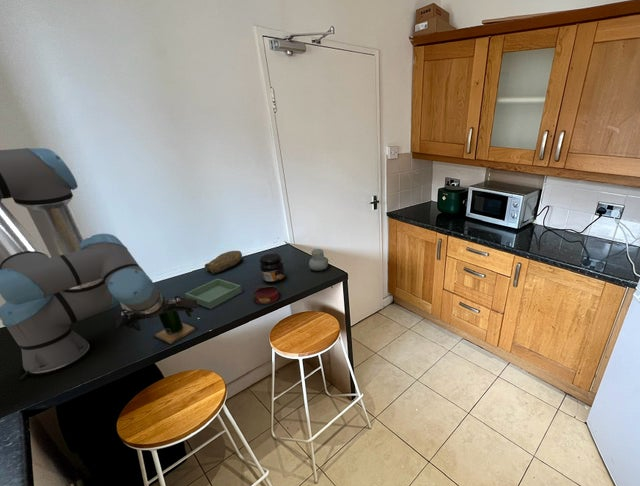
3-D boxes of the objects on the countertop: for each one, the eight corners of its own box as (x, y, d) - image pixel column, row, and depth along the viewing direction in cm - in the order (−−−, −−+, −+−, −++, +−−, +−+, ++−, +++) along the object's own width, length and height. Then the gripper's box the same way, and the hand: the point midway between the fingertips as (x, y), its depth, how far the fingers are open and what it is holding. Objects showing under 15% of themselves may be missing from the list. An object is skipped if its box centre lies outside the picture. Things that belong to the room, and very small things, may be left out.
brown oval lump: (217, 278, 156) (251, 257, 169) (208, 265, 152) (244, 245, 165) (206, 275, 164) (239, 255, 177) (198, 263, 160) (232, 243, 173)
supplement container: (267, 286, 146) (262, 263, 141) (260, 278, 153) (255, 256, 148) (289, 280, 152) (285, 257, 147) (281, 272, 159) (277, 250, 154)
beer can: (178, 335, 112) (167, 307, 107) (163, 336, 112) (151, 308, 107) (186, 326, 117) (176, 299, 112) (172, 326, 117) (161, 299, 112)
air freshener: (325, 273, 159) (322, 255, 154) (308, 273, 159) (306, 255, 154) (329, 264, 169) (327, 246, 164) (314, 263, 169) (312, 246, 164)
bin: (210, 309, 130) (208, 302, 128) (187, 300, 136) (184, 293, 134) (242, 291, 142) (240, 285, 141) (219, 284, 148) (217, 278, 147)
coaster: (170, 344, 110) (169, 341, 109) (155, 336, 113) (154, 334, 113) (195, 329, 117) (194, 327, 117) (180, 323, 121) (179, 321, 120)
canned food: (256, 309, 137) (243, 291, 135) (274, 297, 145) (261, 279, 142) (269, 306, 130) (255, 286, 128) (287, 293, 138) (274, 274, 135)
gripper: (87, 330, 77) (118, 344, 95) (203, 300, 90) (211, 317, 107) (81, 302, 79) (113, 321, 96) (196, 276, 91) (205, 297, 109)
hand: (164, 319), depth 102 cm, fingers open, 13 cm apart
